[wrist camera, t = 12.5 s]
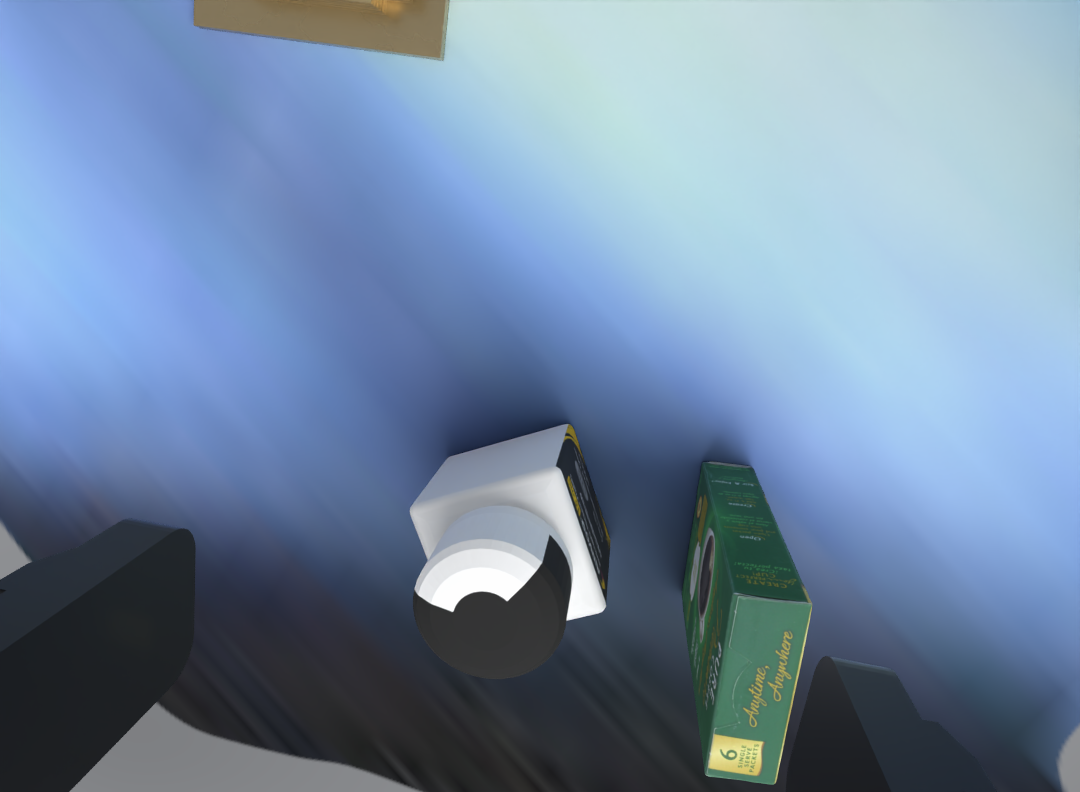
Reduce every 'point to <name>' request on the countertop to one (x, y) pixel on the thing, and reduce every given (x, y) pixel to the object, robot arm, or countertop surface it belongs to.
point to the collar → (336, 23)
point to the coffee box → (741, 625)
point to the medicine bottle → (509, 553)
